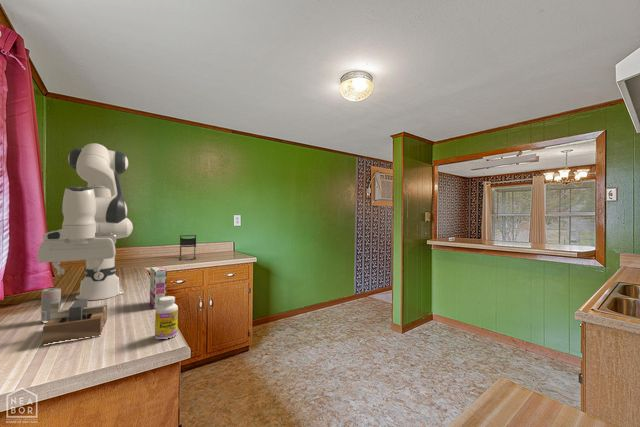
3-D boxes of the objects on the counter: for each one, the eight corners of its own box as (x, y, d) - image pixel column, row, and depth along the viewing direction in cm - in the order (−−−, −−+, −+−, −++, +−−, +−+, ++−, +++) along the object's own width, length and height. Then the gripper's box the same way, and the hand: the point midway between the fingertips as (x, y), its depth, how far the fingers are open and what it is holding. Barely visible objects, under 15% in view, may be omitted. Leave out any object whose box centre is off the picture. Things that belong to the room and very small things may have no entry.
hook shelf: (57, 327, 99) (58, 297, 99) (106, 320, 107) (107, 291, 107) (42, 346, 86) (43, 310, 86) (100, 336, 93) (100, 303, 93)
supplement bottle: (156, 342, 89) (156, 302, 89) (153, 335, 94) (154, 297, 94) (179, 337, 93) (179, 298, 93) (175, 330, 98) (176, 294, 98)
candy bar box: (166, 307, 123) (167, 269, 123) (153, 309, 119) (154, 271, 119) (161, 300, 131) (161, 265, 131) (149, 302, 128) (149, 267, 128)
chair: (179, 260, 239) (179, 235, 239) (179, 257, 254) (180, 233, 254) (196, 259, 244) (196, 234, 244) (195, 257, 260) (195, 233, 260)
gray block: (76, 322, 100) (76, 299, 100) (87, 320, 101) (87, 298, 101) (68, 332, 91) (69, 308, 91) (80, 330, 93) (81, 306, 93)
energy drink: (59, 317, 109) (59, 286, 109) (61, 320, 106) (62, 289, 106) (40, 321, 105) (40, 289, 105) (42, 325, 102) (42, 292, 102)
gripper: (117, 231, 104) (117, 268, 104) (42, 233, 94) (42, 274, 94) (115, 233, 99) (115, 271, 99) (35, 234, 88) (35, 278, 88)
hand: (79, 273), depth 96 cm, fingers open, 8 cm apart
